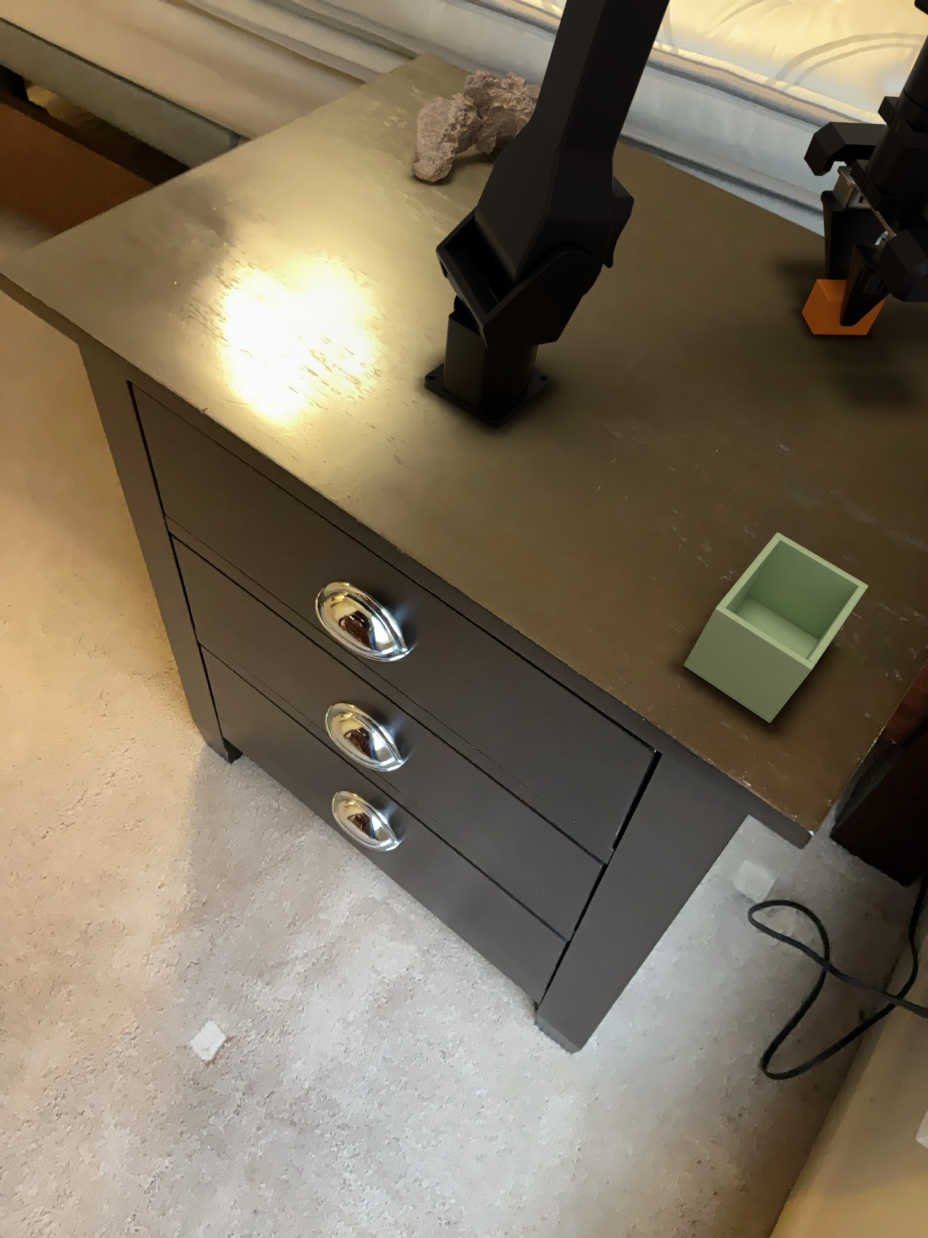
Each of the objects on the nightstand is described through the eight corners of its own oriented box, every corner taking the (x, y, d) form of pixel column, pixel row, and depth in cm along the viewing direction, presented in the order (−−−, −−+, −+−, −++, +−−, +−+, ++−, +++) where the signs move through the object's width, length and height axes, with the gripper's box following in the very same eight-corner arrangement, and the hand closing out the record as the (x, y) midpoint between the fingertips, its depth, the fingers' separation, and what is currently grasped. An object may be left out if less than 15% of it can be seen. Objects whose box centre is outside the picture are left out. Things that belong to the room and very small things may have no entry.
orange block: (812, 334, 67) (829, 300, 65) (801, 312, 69) (816, 278, 66) (866, 335, 68) (885, 301, 65) (853, 313, 69) (871, 279, 67)
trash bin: (769, 723, 46) (812, 669, 42) (683, 665, 48) (715, 608, 43) (824, 643, 49) (868, 585, 45) (742, 591, 51) (777, 531, 47)
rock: (397, 152, 77) (400, 65, 71) (540, 136, 82) (553, 52, 76) (421, 186, 74) (426, 98, 68) (568, 168, 79) (584, 83, 73)
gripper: (1143, 180, 50) (987, 392, 63) (996, 42, 61) (888, 247, 74) (968, 173, 49) (845, 392, 61) (849, 32, 59) (765, 243, 72)
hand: (839, 312), depth 67 cm, fingers closed on orange block, 3 cm apart
